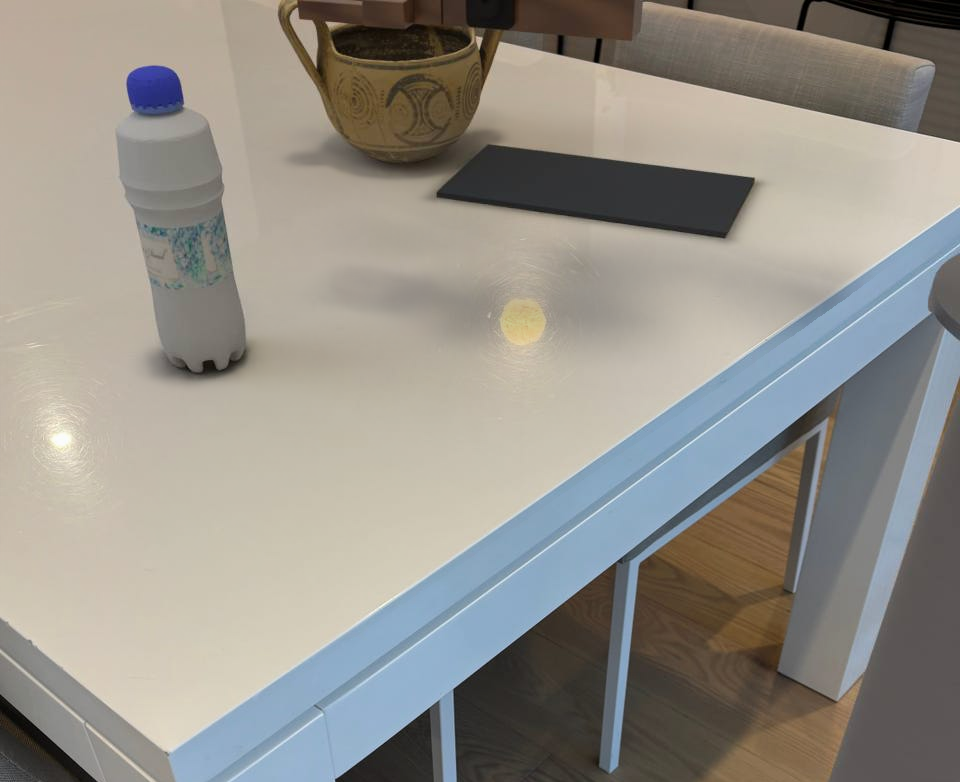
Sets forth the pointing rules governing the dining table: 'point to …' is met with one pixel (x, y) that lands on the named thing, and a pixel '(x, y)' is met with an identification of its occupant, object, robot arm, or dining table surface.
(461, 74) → the ceramic bowl
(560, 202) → the place mat
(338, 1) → the fork
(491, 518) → the dining table surface
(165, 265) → the bottle
